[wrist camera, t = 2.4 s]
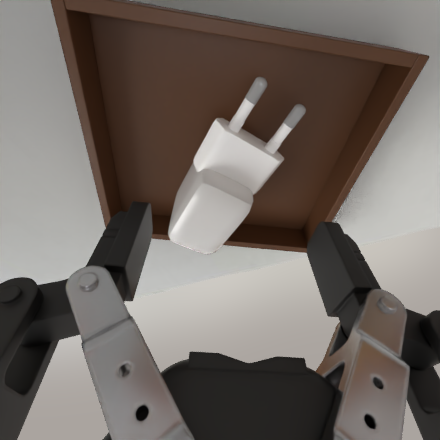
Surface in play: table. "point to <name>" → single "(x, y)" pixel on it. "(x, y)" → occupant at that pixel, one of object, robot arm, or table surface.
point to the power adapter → (226, 177)
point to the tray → (225, 108)
